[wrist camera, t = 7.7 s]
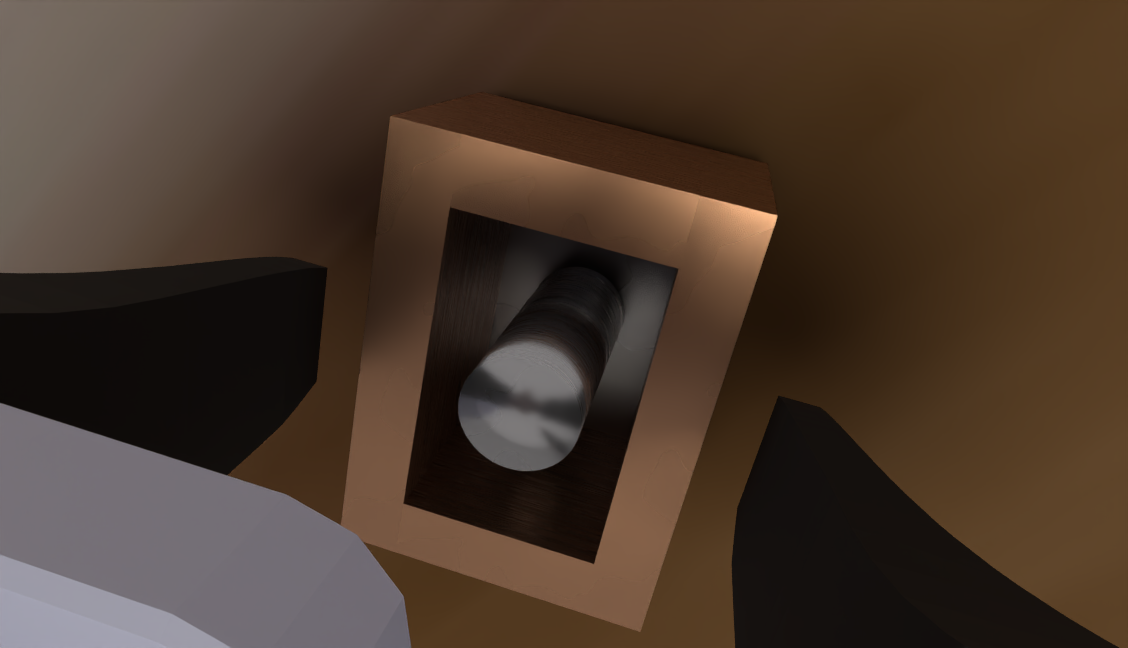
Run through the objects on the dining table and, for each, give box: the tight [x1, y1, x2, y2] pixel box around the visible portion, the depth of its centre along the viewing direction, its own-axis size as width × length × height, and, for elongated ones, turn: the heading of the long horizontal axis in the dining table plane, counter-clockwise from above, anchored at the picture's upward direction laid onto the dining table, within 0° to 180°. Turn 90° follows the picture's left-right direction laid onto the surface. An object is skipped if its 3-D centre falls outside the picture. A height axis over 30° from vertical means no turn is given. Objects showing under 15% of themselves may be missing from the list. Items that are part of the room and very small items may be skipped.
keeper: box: [458, 224, 677, 471], centre depth 13 cm, size 5×5×5 cm
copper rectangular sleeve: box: [341, 92, 778, 631], centre depth 13 cm, size 7×5×4 cm
